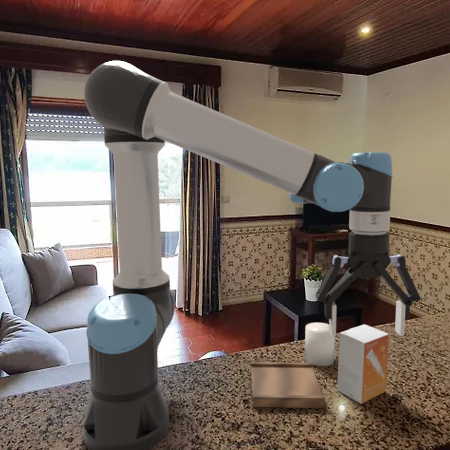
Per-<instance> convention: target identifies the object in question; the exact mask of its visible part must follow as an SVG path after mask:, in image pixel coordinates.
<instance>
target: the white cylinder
mask: <svg viewBox="0 0 450 450" xmlns="http://www.w3.org/2000/svg"><path fill="white" fill-rule="evenodd" d="M304 334H305V337H304V338H305V340H304V345H305V346H304V360H305V361H306V363H312V366H316V367H328V366H331V365H333V364H334V363H335V349H336V347H335V346H336V345H335V344H336V336H333V337H332V335H331V334H330V332H329V324H328V323H325V322H310V323H307V324H306V325H305V332H304Z"/></svg>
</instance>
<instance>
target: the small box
mask: <svg viewBox="0 0 450 450" xmlns="http://www.w3.org/2000/svg"><path fill="white" fill-rule="evenodd" d="M389 341H390V334H389V333H388V332H385V331H382V330H380V329H377V328H375V327H372V326H370V325H367V324H365V323H364V324H361V325H358V326H355V327H351V328H349V329H347V330H344V331H341V332H339V344H338V368H337V369H338V370H337V371H338V372H337V389H336V390H337V391H338V392H340V393H341V394H343V395H345V396H347V397H348V398H350V399H351V400H353V401H355V402H356V403H358V404H360V405H363V404H364V403H366V402H368V401H370V400H372V399H374V398H376V397H378V396H379V395H381V394H384V393H386V386H387V385H386V384H387V370H388V359H389V358H388V357H389V355H388V354H389Z"/></svg>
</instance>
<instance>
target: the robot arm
mask: <svg viewBox="0 0 450 450" xmlns="http://www.w3.org/2000/svg"><path fill="white" fill-rule="evenodd" d="M83 91H84V92H83V95H84V103H85V105H86V109H87V110H88V112H89V114H90V116H91V117H92V119H94V120H95V122H96V123H98V124H99V125H100V126H102V127H103V137H104V146H105V147H106V148H107V149H108V150H109V151H110V152H111V153H112V154H113V167H114V168H113V170H114V171H113V172H114V188H115V189H114V190H115V191H114V192H115V207H116V208H115V209H116V211H115V212H116V223H117V225H116V226H117V244H118V245H117V246H118V262H119V272H118V274H117V275H116V276H115V277H114V278H113V280H112V292H113V295H112V296H109V298H104V299H101V300H100V301H98V302H97V303H96V304H94V306H93V307H92V308H91V309H90V310H89V313H88V314H87V315H88V316H87V319H86V320H87V322H86V323H87V325H86V332H85V333H86V338H87V347H88V349H87V350H88V362H89V379H90V391H91V393H90V397H89V401H88V404H87V407H86V411H85V415H84V418H83V424H82V433H83V435H82V437H83V438H82V439H83V442H84V445H85V446H86V447H87V448H88V449H89V450H149V449H151V448H153V447H154V446H156V445H157V444H158V443H160V442H161V441H162V439H164V437H165V436H166V435H167V433H168V431H169V428H170V411H169V410H170V409H169V407H168V405H167V401H166V399H165V397H164V394H163V391H162V389H161V387H160V384H159V366H158V365H159V363H158V350H159V345H160V343H161V342H162V339H163V337H164V335H165V333H166V331H167V329H168V327H169V326H170V325H171V322H172V320H173V318H174V315H175V298H174V295H173V292H172V290H171V283H170V282H171V280H170V275H169V274H168V273H167V272H165V271H164V270H163V261H162V259H163V258H162V236H161V233H162V232H161V213H160V211H161V210H160V209H161V208H160V206H161V205H160V183H159V179H160V178H159V161H158V160H159V159H158V158H159V155H158V154H160V153H159V152H161V150H162V149H163V148H164V147H165V146H166V143H165V142H167V143H169V144H172V145H174V146H177V147H180V148H181V149H183V150H186V151H188V152H190V153H193V154H195V155H198V156H201V157H203V158H206V159H208V160H210V161H213V162H215V163H217V164H220V165H222V166H224V167H227V168H229V169H232V170H234V171H236V172H239V173H241V174H243V175H246V176H248V177H251V178H253V179H255V180H257V181H260V182H263V183H265V184H267V185H269V186H272V187H274V188H277V189H279V190H281V191H284V192H287V193H288V197H289V200H290V201H291V202H292V203H294V204H295V203H296V204H304V205H305V204H315V205H316V206H319V207H320V208H322V209H323V210H326V211H329V212H331V213H336V212H337V213H339V212H340V213H341V212H346V211H348V210H349V218H348V219H349V221H348V222H349V223H348V226H349V227H348V228H349V229H350V232H349V233H348V253H347V256H339V255H337V254H333V255H332V257H331V264H330V267H329V269H328V271H327V272H326V274H325V276H324V278H323V280H322V282H321V283H320V286H319V288H318V289H317V291H316V293H315V297H316V300H317V302H319V303H324V316H325V319H326V320H328V323H329V332H330V334H331V335H332V337H333V336H335V337H336V336H337V304H336V303H335V301H336V300H337V299H339V297H340V296H341V295H342V294H343V292H344V291H345V290H347V288H348V287H349V286H350V285H351V284H352V283H353V282H355V281H356V280H357V278H360V279H363V280H364V279H365V280H366V279H378V278H380V277H381V278H382V279H383V281H385V284H387V286H389V288H390V289H391V290H392V291H393V292H394V293H395V294H396V296H397V297H398V298H399V299H400V300H396V302H395V303H396V304H395V321H394V323H395V324H394V325H395V326H394V328H395V329H394V332H396V333H397V335H398V336H400V337H404V336H405V324H406V322H405V321H406V320H409V318H410V310H411V306H412V305H413V304H414V302H420V300H421V296H420V294H419V291H418V289H417V287H416V285H415V283H414V281H413V279H412V277H411V275H410V272H409V271H408V269H407V263H406V257H405V256H404V255H402V254H399V253H396V254H394V255H389V251H390V234H389V233H388V231H390V224H391V198H392V197H391V195H392V182H393V179H392V178H393V177H394V176H393V163H392V162H393V161H392V156H391V154H390V153H388V152H385V151H377V152H376V151H374V152H371V151H370V152H355V153H352V155H351V156H350V160H349V162H346V163H345V162H340V161H339V162H338V161H335V160H332V159H329V158H327V157H325V156H322V155H320V154H317V153H315V152H314V151H311V150H309V149H306V148H305V147H302V146H300V145H297V144H295V143H293V142H290V141H287V140H286V139H283V138H281V137H278V136H276V135H273V134H271V133H270V132H266V131H265V130H262V129H260V128H257V127H256V126H255V127H254V126H252V125H250V124H248V123H245V122H243V121H240V120H238V119H236V118H233V117H231V116H229V115H227V114H225V113H222V112H219V111H217V110H216V109H215V110H214V109H212V108H210V107H207V106H205V105H203V104H201V103H198V102H196V101H194V100H191V99H189V98H187V97H184V96H181V95H180V94H176V93H174V92H172V90H171V89H170V86H169V84H168V82H166V81H163V80H161V79H159V78H156V77H154V76H152V75H150V74H148V73H146V72H145V71H143V70H141V69H140V68H137V67H136V66H134V65H133V64H132V63H130V62H129V63H128V62H126V61H121V60H112V61H108V62H104V63H102V64H100V65H98V66H97V67H96V68H94V69H93V70H92V71H91V73H90V74H89V75H88V77H87V79H86V81H85V85H84V89H83ZM349 229H348V230H349ZM345 264H347V265H348V269H346V271H345V272H344V275H342V277H341V278H340V279H339V280H338V281H337V282H336V283H335V285H334V286H333V283H334V282H335V280H336V278H337V276H338V274H339V272H340V269H341V268H343V267H344V265H345ZM390 264H392V265H393V266H394V267H395V269H396V271H397V273H398V275H399V277H400V280H401V281H402V283H403V286H404V288H405V289H406V291H407V294H406V293H405V291H404V290H403V289H402V287H400V286H399V284H398V283H397V282H396V281H395V279H393V278H392V276H391V274H389V272H388V271H387V270H386V269H388V267H389V265H390ZM332 286H333V287H332Z"/></svg>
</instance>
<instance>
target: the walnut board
mask: <svg viewBox="0 0 450 450" xmlns="http://www.w3.org/2000/svg"><path fill="white" fill-rule="evenodd" d="M250 379H251V380H250V381H251V382H250V383H251V397H252V399H251V401H252V407H253V408H301V409H302V408H303V409H305V408H306V409H307V408H308V409H309V408H310V409H311V408H312V409H324V408H325V399H326V398H325V395H323V392H322V389H321V388H320V384H319V381H318V378H317V377H316V374H315V370H314V369H313V364H312V363H308V362H291V361H290V362H288V361H287V362H283V361H282V362H281V361H280V362H277V361H276V362H275V361H274V362H273V361H250Z"/></svg>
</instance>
